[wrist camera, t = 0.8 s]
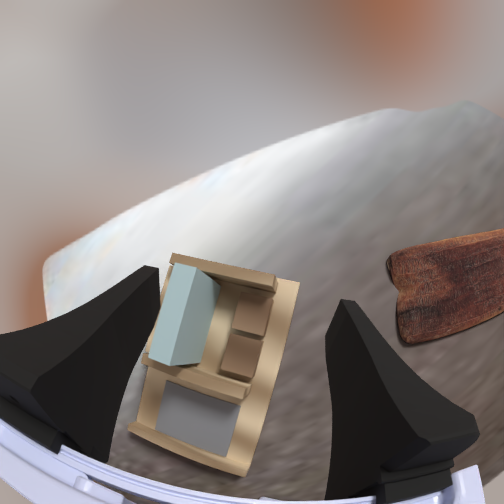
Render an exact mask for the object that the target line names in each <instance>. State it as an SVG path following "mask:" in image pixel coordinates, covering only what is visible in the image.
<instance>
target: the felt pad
mask: <svg viewBox="0 0 504 504" xmlns="http://www.w3.org/2000/svg"><path fill="white" fill-rule="evenodd" d="M240 408H241V405H237V404H234V403H231V402H227V401H224V400H221V399H218V398H215V397H212V396H209V395H206V394H203V393H200V392H197V391H194V390H192V389H189V388H186V387H184V386H181V385H178V384H176V383H173V382H171V381H168V380H166V384H165V388H164V392H163V396H162V400H161V405H160V409H159V413H158V418H157V422H156V427H155V430H157V431H160V432H162V433H164V434H166V435H169V436H171V437H173V438H176V439H178V440H180V441H183V442H185V443H188V444H190V445H193V446H196V447H198V448H201V449H204V450H206V451H209V452H212V453H215V454H218V455H221V456H224V457H226V456H227V453H228V449H229V446H230V442H231V439H232V436H233V432H234V429H235V425H236V422H237V418H238V415H239V411H240Z"/></svg>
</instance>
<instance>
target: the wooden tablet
mask: <svg viewBox="0 0 504 504" xmlns="http://www.w3.org/2000/svg"><path fill="white" fill-rule="evenodd" d="M387 265H388V269H389V272H390V275H391V278H392V281H393V283H394V285H395V287H396V288H397V289H398V291H399V295H398V299H397V307H396V309H397V321H398V328H399V332H400V336H401V338H402V339H403V340H404V341H405V342H407V343H411V344H413V343H419V342H424V341H428V340H433V339H437V338H441V337H444V336H447V335H450V334H454V333H456V332H459V331H462V330H464V329H467V328H470V327H471V326H474V325H477V324H479V323H481V322H484V321H486V320H488V319H490V318H492V317H494V316H496V315H498V314H500V313H501V312H503V311H504V228H503V229H498V230H494V231H488V232H482V233H477V234H471V235H466V236H460V237H455V238H450V239H445V240H441V241H436V242H431V243H426V244H422V245H416V246H413V247H408V248H405V249H402V250H399V251H396V252H394V253H393V254H391V255H390V256H389V258H388V259H387Z"/></svg>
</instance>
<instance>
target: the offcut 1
mask: <svg viewBox="0 0 504 504" xmlns="http://www.w3.org/2000/svg"><path fill="white" fill-rule="evenodd" d="M273 303H274V300H273V298H269V297H264V296H260V295H255V294H251V293H246V292H242V291H241V293H240V297H239V301H238V305H237V308H236V312H235V316H234V320H233V323H232V327H231V328H234V329H238V330H242V331H246V332H250V333H254V334H258V335H262V336H265V335H266V331H267V327H268V323H269V319H270V315H271V311H272V307H273Z"/></svg>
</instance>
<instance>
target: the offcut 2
mask: <svg viewBox="0 0 504 504" xmlns="http://www.w3.org/2000/svg"><path fill="white" fill-rule="evenodd" d="M263 343H264V341H260V340H256V339H252V338H249V337H245V336H241V335H237V334H233V333H230V335H229V338H228V342H227V346H226V350H225V353H224V357H223V361H222V365H221V368H220V369H223V370H226V371H229V372H233V373H236V374H240V375H243V376H247V377H250V378H252V377H254V376H255V373H256V369H257V366H258V362H259V358H260V354H261V350H262V347H263Z"/></svg>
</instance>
